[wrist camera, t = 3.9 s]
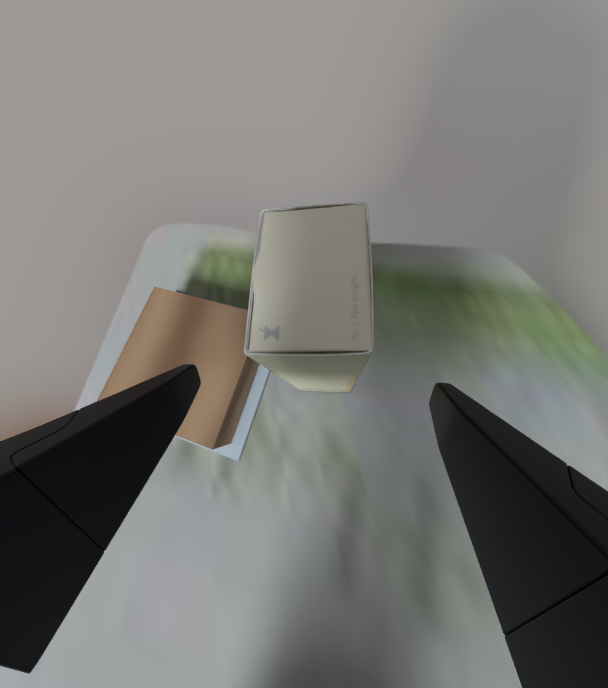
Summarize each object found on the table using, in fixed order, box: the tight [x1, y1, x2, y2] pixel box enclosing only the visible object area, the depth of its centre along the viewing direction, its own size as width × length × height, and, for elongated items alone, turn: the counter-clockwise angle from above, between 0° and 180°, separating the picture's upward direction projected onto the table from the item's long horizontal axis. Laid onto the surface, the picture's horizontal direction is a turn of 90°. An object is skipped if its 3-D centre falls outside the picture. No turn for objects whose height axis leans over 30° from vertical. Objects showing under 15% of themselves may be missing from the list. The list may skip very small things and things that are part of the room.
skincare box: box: [244, 203, 374, 392], centre depth 14 cm, size 6×4×12 cm
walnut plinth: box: [97, 287, 260, 450], centre depth 19 cm, size 10×10×3 cm
